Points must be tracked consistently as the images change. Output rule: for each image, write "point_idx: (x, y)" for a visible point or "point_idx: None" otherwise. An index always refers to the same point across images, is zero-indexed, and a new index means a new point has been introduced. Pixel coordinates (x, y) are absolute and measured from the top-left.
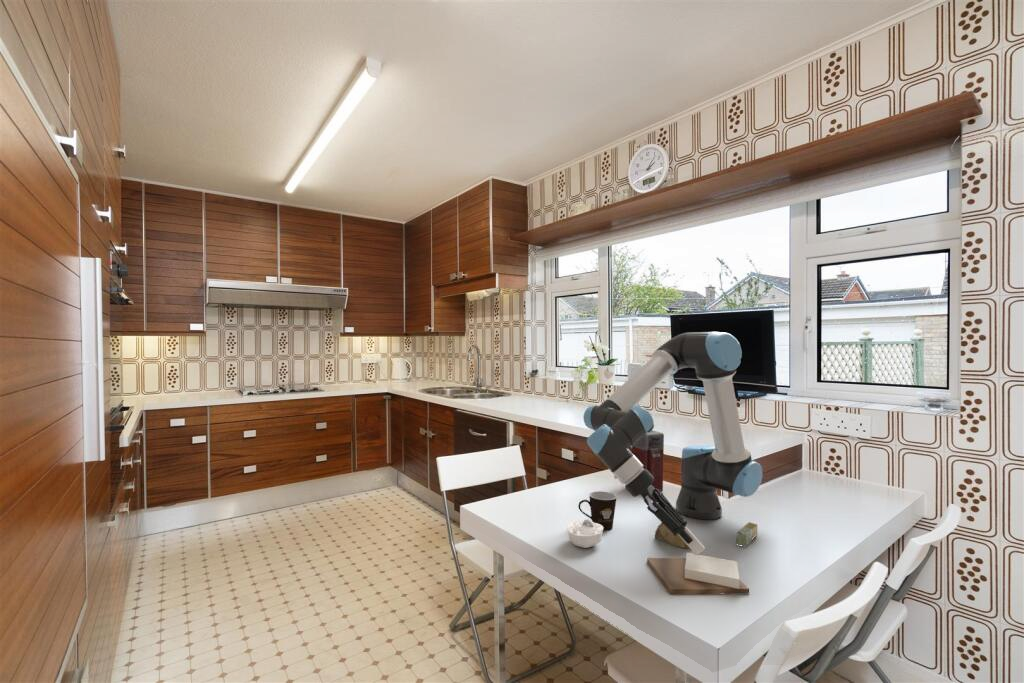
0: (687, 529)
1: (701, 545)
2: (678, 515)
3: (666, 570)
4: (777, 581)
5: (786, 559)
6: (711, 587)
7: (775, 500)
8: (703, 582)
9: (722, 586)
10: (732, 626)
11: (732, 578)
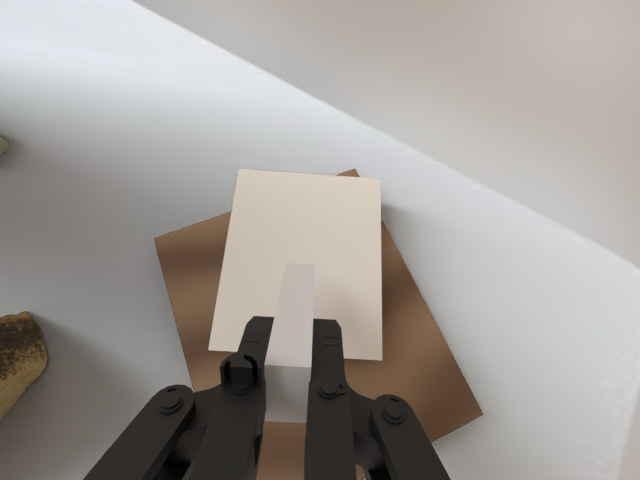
0: (301, 351)
1: (311, 276)
2: (164, 447)
3: None
4: (247, 102)
5: (91, 57)
6: (399, 270)
7: None
8: None
9: None
10: (550, 236)
11: (380, 197)
